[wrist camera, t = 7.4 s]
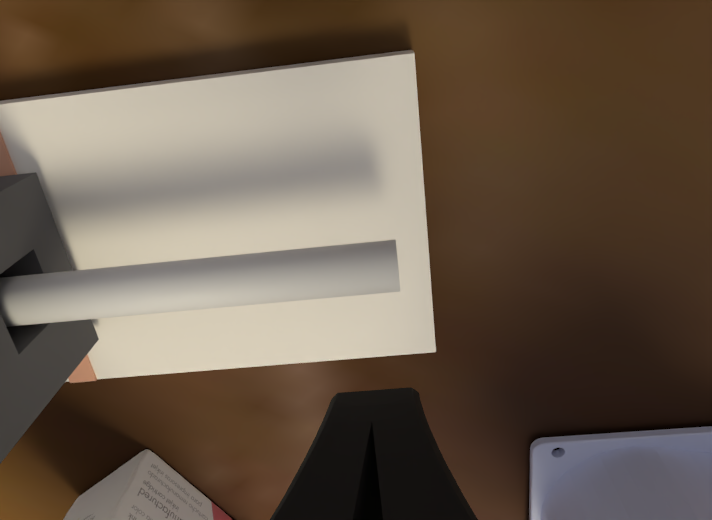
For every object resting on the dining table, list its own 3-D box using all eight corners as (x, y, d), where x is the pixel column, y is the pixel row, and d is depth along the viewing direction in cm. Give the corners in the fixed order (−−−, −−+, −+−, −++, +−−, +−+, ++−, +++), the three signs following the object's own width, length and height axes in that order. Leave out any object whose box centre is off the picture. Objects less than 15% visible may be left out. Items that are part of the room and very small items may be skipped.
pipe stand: (412, 49, 17) (440, 95, 9) (433, 336, 21) (463, 520, 14) (-210, 126, 18) (-596, 217, 11) (-72, 378, 22) (-285, 562, 15)
